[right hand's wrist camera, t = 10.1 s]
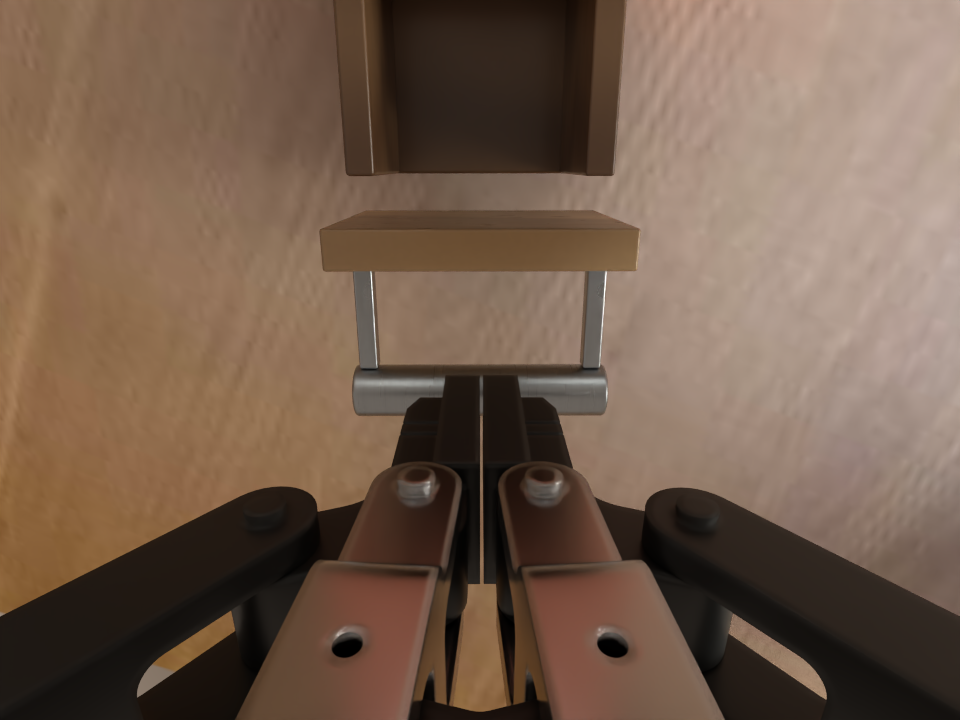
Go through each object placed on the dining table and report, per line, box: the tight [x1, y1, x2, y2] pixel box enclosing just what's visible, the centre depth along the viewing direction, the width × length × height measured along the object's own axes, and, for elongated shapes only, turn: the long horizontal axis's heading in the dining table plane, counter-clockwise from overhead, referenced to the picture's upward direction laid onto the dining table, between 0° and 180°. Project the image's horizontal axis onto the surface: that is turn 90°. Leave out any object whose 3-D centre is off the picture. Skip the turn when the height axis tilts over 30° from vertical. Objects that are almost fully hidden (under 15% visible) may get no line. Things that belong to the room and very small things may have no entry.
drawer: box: [320, 0, 641, 416], centre depth 18 cm, size 20×9×7 cm, turn 0°
